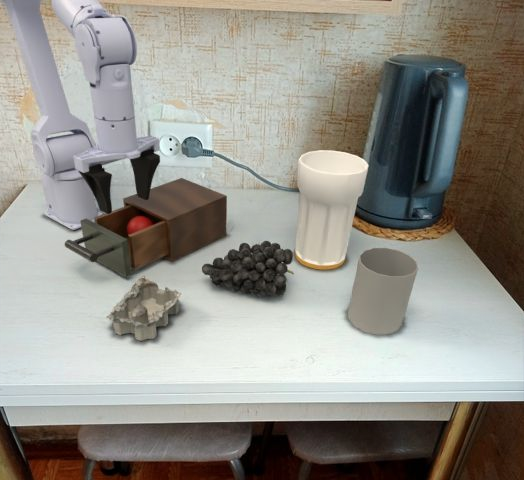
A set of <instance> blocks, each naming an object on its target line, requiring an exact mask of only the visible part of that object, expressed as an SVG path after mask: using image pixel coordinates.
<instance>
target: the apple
mask: <svg viewBox="0 0 524 480" xmlns="http://www.w3.org/2000/svg"><path fill="white" fill-rule="evenodd" d="M152 225H154V224H153V220H150V219H148V218H147V217H144V216H137V217H135V218H133V219H131V220H130V222H129V223H128V226H127V233H128V235H130V234H132V233H135V232H137V231H140V230H142V229H144V228H147V227H149V226H152Z"/></svg>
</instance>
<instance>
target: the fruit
mask: <svg viewBox="0 0 524 480" xmlns="http://www.w3.org/2000/svg"><path fill="white" fill-rule="evenodd" d="M293 258H294V252H293V251H292V249H290V248H284V249H283V248H282V247H281V244H279V243H278V242H272V243H271V241H269V240H264V241H262V242H261V243H260V244H258V243H256V244H252V246H251V245H250V244H249V243H247V242H242V243H241V244H239V247H238V250H237V249H235V248H231V249H230V250H228V252H227V254H226V255H225V256H223V258H222V257H215V258H214V259H213V260H212V264H211V263H204V264H203V265H202V267H201V273H202V274H204V275H205V276H209V278H210V280H211V283H212V284H213V285H214V286H216V287H219V286H221V285H223V286H226V287H231V290H232V291H233V292H235V293H239V292H240V291H242V292H243V293H249V292H250V293H251V294H253V295H258V296H259V297H260V298H266V297H268V296H271V295H274V296H276V297H281V296H284V295H285V292H286V290H287V282H288V278H287V276H286V274H287V273H289V274H291V275H295V273H294V272H293V270H290V269H288V268H289V266H287V265H291V263H292V262H293Z"/></svg>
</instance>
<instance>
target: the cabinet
mask: <svg viewBox="0 0 524 480" xmlns="http://www.w3.org/2000/svg"><path fill="white" fill-rule="evenodd" d="M122 202H123V203H122V204H123V207H125V206H127V205H131V206H134V207H136V208H138V209H140V210H142V211H144V212H147V213H149V214H151V215H153V216H155V217H157V218H160V219H162V220H164V221H166V222H167V231H168V246H169V254H168V255H166V256H164V257H162V258H161V259H164V260H166V261H169V263H174V262H175V261H178V260H180V259H182V258H185V257H186V256H188V255H190V254H192V253H193V252H196V251H199V250H200V249H202V248H205V247H206V246H208V245H210V244H212V243H215V242H217V241H219V240H220V239H223V238H225V237H227V225H228V224H227V219H228V218H227V216H228V215H227V213H228V211H227V209H228V196H227V195H225V194H224V193H221V192H219V191H216V190H213V189H211V188H208V187H206V186H203V185H201V184H199V183H196V182H193V181H191V180H188V179H186V178H184V177H180V178H177V179H175V180H172V181H169V182H165V183H163V184H161V185H157V186H155V187H151V189H150V194H149V199H148V200H144V199H142V198H140V197H138V195H137V193H135V194H132V195H129V196H127V197H126V196H125V197H123V198H122Z"/></svg>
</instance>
